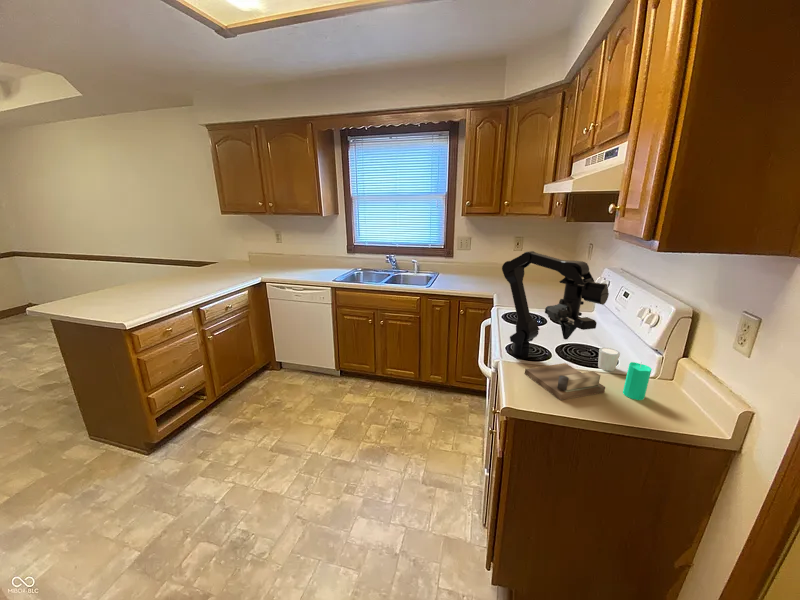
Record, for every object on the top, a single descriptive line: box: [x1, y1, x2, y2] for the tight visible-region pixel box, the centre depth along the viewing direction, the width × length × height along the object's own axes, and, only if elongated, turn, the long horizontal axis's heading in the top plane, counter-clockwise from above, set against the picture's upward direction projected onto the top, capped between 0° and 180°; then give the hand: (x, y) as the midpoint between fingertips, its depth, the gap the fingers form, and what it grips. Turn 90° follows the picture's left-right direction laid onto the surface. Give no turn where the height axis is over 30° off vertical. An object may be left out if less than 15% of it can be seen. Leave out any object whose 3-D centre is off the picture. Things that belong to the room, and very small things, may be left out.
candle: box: [622, 361, 652, 401], centre depth 113 cm, size 6×6×12 cm
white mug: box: [597, 347, 621, 372], centre depth 132 cm, size 7×7×7 cm
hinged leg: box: [557, 370, 601, 390], centre depth 114 cm, size 15×3×4 cm, turn 107°
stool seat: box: [524, 362, 606, 401], centre depth 121 cm, size 18×18×2 cm
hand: (565, 339), depth 126 cm, fingers closed
